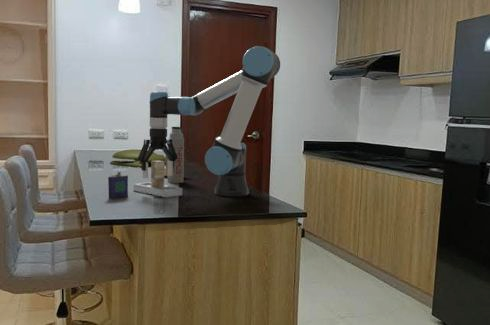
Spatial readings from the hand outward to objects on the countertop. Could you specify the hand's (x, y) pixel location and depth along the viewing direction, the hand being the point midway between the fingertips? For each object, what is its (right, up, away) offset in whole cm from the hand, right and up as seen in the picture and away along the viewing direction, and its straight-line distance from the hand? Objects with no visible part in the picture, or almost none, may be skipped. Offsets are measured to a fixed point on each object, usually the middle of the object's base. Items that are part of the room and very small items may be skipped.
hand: (157, 176), depth 202 cm
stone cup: (-3, -2, +54) cm, 54 cm away
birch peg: (0, -7, +1) cm, 7 cm away
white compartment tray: (0, -7, +1) cm, 7 cm away
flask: (-14, -8, -13) cm, 21 cm away
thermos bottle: (+2, -4, +35) cm, 35 cm away
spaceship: (-33, +5, +108) cm, 113 cm away
